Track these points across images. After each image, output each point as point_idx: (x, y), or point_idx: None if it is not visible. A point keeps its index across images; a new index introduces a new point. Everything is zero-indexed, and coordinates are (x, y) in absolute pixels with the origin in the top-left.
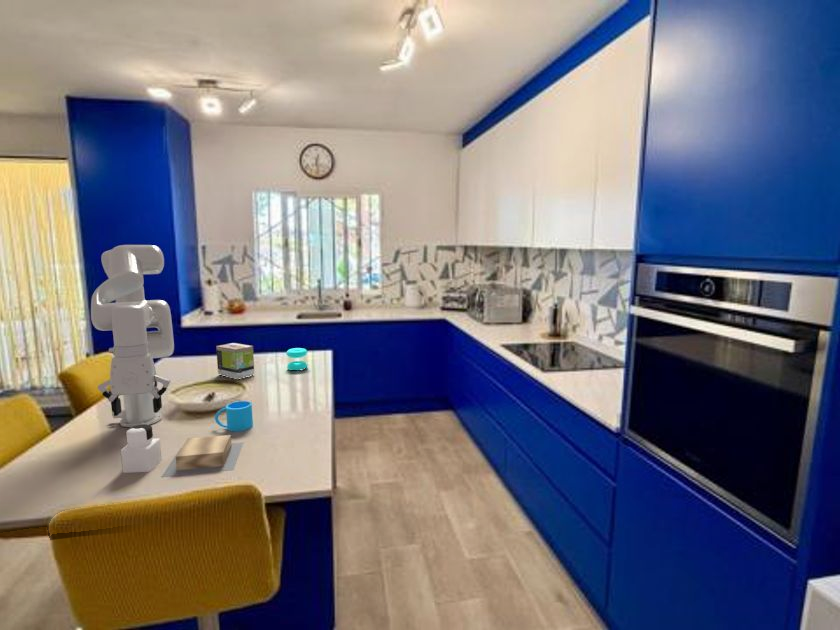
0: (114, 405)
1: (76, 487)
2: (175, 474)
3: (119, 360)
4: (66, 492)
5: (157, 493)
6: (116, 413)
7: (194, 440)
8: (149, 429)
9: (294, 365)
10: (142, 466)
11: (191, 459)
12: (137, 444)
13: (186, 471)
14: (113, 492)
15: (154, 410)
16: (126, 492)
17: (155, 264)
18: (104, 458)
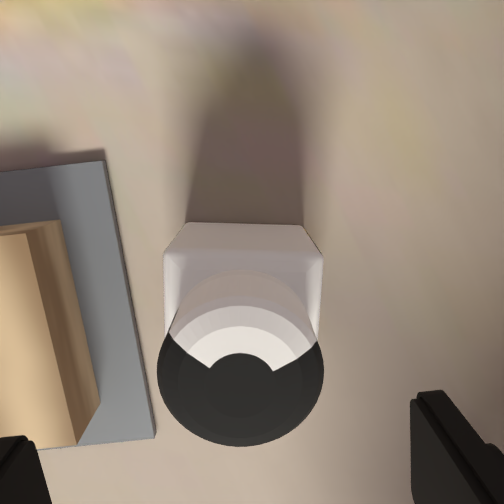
0: (492, 483)
1: (452, 126)
2: (46, 179)
3: None
4: (475, 83)
5: (53, 21)
6: (424, 409)
7: (27, 419)
8: (160, 363)
9: None
10: (211, 229)
11: None
12: (225, 272)
13: (8, 204)
14: (264, 57)
15: (6, 451)
16: (204, 49)
17: None
18: (455, 385)
